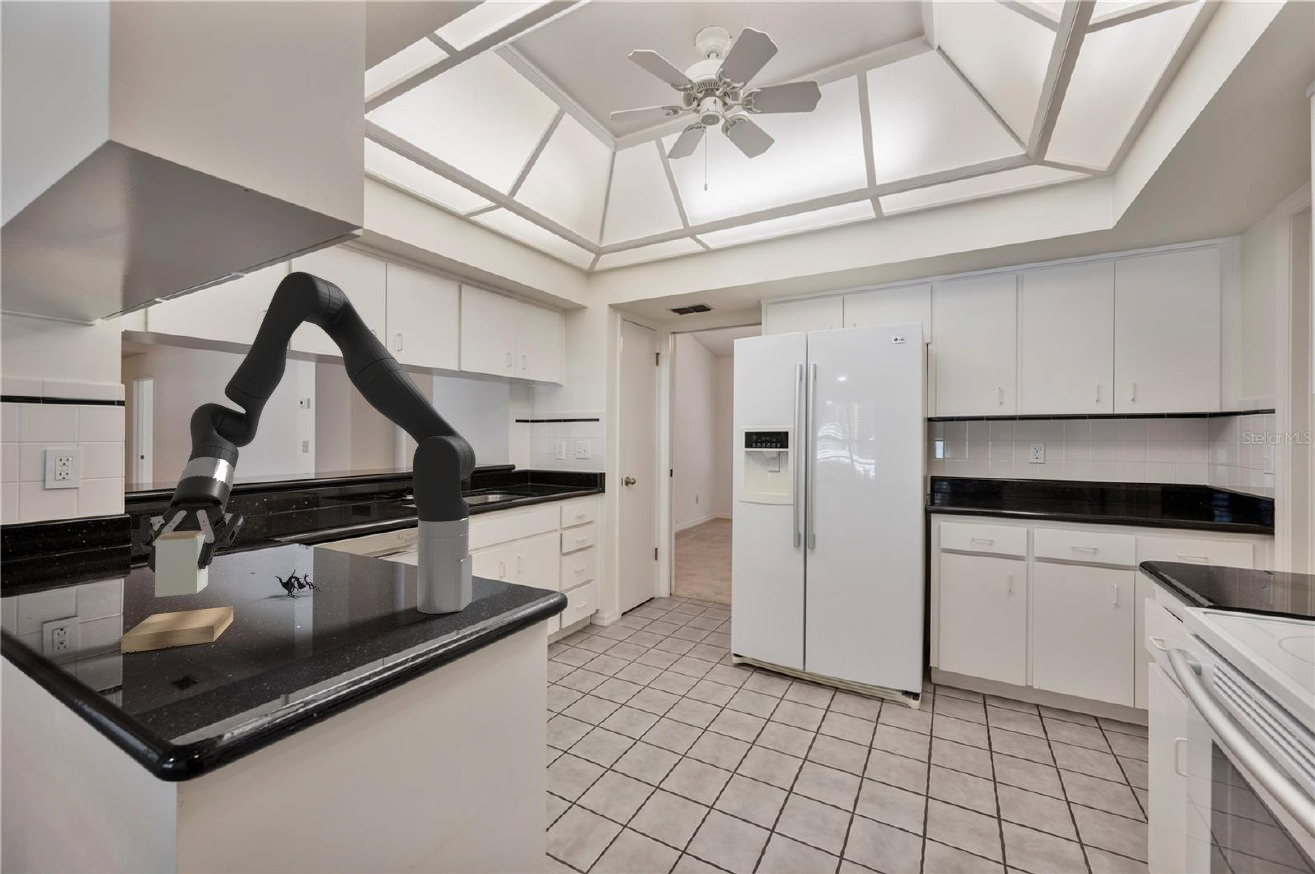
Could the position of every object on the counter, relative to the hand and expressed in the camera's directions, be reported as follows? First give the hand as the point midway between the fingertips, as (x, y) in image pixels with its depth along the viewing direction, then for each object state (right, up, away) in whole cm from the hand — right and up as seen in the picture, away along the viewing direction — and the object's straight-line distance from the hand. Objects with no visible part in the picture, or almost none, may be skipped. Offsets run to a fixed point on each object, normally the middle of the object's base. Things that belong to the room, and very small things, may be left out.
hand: (178, 567), depth 85 cm
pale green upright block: (-1, -4, +2) cm, 5 cm away
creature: (+3, -12, +25) cm, 28 cm away
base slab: (-1, -12, +1) cm, 12 cm away
